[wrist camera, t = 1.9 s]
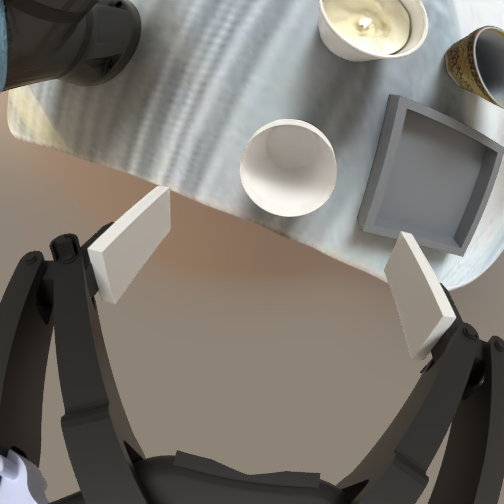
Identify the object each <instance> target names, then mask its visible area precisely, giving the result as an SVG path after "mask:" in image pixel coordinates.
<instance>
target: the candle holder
mask: <svg viewBox="0 0 504 504" xmlns="http://www.w3.org/2000/svg"><path fill="white" fill-rule="evenodd" d="M318 2H319V20H318V28H319V34H320V37H321V39H322V41H323V43H324V44H325V45H326V47H327V48H328V49H329V50H330V51H331V52H333V53H334V54H335V55H337V56H339V57H341V58H343V59H346V60H349V61H356V62H363V61H371V60H378V59H394V58H401V57H405V56H407V55H410V54H412V53H413V52H415V51H416V50H417V49H418V48H419V47H420V46H421V45H422V44H423V42H424V41H425V38H426V36H427V32H428V19H427V14H426V11H425V8H424V6H423V4H422V2H421V0H318Z"/></svg>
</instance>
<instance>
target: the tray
mask: <svg viewBox="0 0 504 504" xmlns="http://www.w3.org/2000/svg"><path fill="white" fill-rule="evenodd" d="M503 154H504V147H503V146H501V145H500V144H498V143H496V142H495V141H493V140H491V139H490V138H488V137H486V136H485V135H483V134H481V133H480V132H478V131H476V130H474V129H472V128H471V127H469V126H467V125H465V124H463V123H461V122H459V121H457V120H455V119H453V118H451V117H449V116H447V115H445V114H443V113H441V112H438V111H436V110H434V109H432V108H429V107H427V106H425V105H422V104H420V103H418V102H415V101H413V100H410V99H407V98H405V97H402V96H399V95H390V94H389V99H388V103H387V108H386V113H385V118H384V122H383V126H382V131H381V135H380V139H379V143H378V147H377V151H376V155H375V159H374V162H373V166H372V170H371V173H370V177H369V180H368V184H367V187H366V191H365V194H364V197H363V201H362V204H361V207H360V210H359V213H358V216H357V219H358V221H359V224H360V227H361V229H362V231H363V232H368V233H372V234H376V235H380V236H385V237H389V238H393V239H398V236H399V234H400V231H402V232H406V233H410V234H412V235H413V237H414V239H415V240H416V242H417V244H418V245H421V246H425V247H429V248H433V249H436V250H440V251H444V252H447V253H451V254H455V255H458V256H462V257H463V255H464V253H465V251H466V249H467V247H468V245H469V243H470V241H471V239H472V237H473V235H474V233H475V230H476V228H477V226H478V224H479V221H480V219H481V217H482V214H483V212H484V210H485V207H486V205H487V202H488V199H489V197H490V194H491V191H492V188H493V186H494V183H495V180H496V177H497V174H498V171H499V167H500V164H501V161H502V157H503Z"/></svg>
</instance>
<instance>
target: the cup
mask: <svg viewBox="0 0 504 504" xmlns="http://www.w3.org/2000/svg"><path fill="white" fill-rule="evenodd" d="M240 177H241V181H242V184H243V187H244V189H245V191H246V193H247V194H248V196H249V197H250V198H251V199H252V200H253V201H254V202H255V203H256V204H257V205H258V206H259V207H261V208H262V209H264V210H266V211H268V212H270V213H273V214H276V215H279V216H287V217H293V216H301V215H305V214H308V213H310V212H312V211H314V210H316V209H318V208H319V207H320V206H322V205H323V204H324V203H325V202H326V201H327V200H328V198H329V197H330V196H331V194H332V192H333V190H334V188H335V185H336V181H337V163H336V159H335V154H334V151H333V148H332V146H331V144H330V142H329V140H328V139H327V138H326V136H325V135H324V134H323V133H322V132H321V131H320V130H318V129H317V128H316V127H314V126H313V125H311V124H309V123H306V122H304V121H300V120H295V119H281V120H277V121H273V122H271V123H268V124H266V125H265V126H263V127H261V128H260V129H259V130H258V131H257V132H255V134H254V135H253V136H252V137H251V139H250V140H249V142H248V144H247V146H246V148H245V150H244V152H243V154H242V158H241V162H240Z"/></svg>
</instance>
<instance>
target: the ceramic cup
mask: <svg viewBox="0 0 504 504" xmlns="http://www.w3.org/2000/svg"><path fill="white" fill-rule="evenodd" d="M445 61H446V70H447V73H448V74H449V75H450V77H451V78H452V79H453V80H454V82H455V83H456V84H457V85H458V86H459V87H461V88H463V89H466V90H468V91H470V92H473V93H475V94H477V95H479V96H481V97H482V98H484V99H485V100H487V101H489V102H491V103H493V104H495V105H497V106H499V107H501V108H503V109H504V31H503V30H502V29H500V28H497V27H494V26H484V27H482V28H479V29H477V30H475V31H473V32H472V33H470V34H469V35H468V36H466V37H465V38H463V39H461V40H460V41H458V42H456V43H454V44H453V45H452V46H451V47H450V48H449V49H448V50H447V51H446V53H445Z"/></svg>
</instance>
